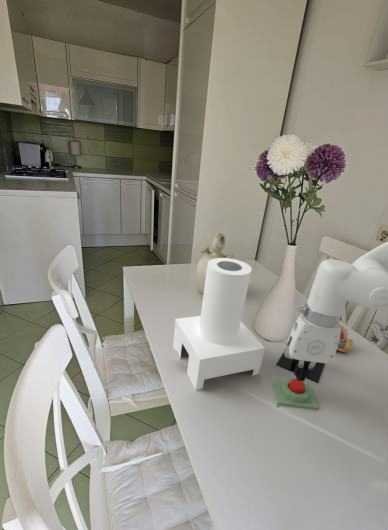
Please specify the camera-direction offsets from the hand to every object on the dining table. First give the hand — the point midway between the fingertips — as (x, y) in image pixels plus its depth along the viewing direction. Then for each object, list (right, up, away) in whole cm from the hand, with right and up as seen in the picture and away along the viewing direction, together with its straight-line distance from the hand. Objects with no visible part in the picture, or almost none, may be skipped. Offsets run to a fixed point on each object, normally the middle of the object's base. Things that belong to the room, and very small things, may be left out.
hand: (299, 377), depth 76 cm
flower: (+20, +3, +25) cm, 32 cm away
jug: (-18, +23, +54) cm, 61 cm away
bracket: (+5, -1, +15) cm, 16 cm away
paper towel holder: (-21, +1, +13) cm, 25 cm away
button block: (-1, -6, +3) cm, 7 cm away
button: (0, -3, +2) cm, 4 cm away
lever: (+10, +7, +8) cm, 15 cm away
